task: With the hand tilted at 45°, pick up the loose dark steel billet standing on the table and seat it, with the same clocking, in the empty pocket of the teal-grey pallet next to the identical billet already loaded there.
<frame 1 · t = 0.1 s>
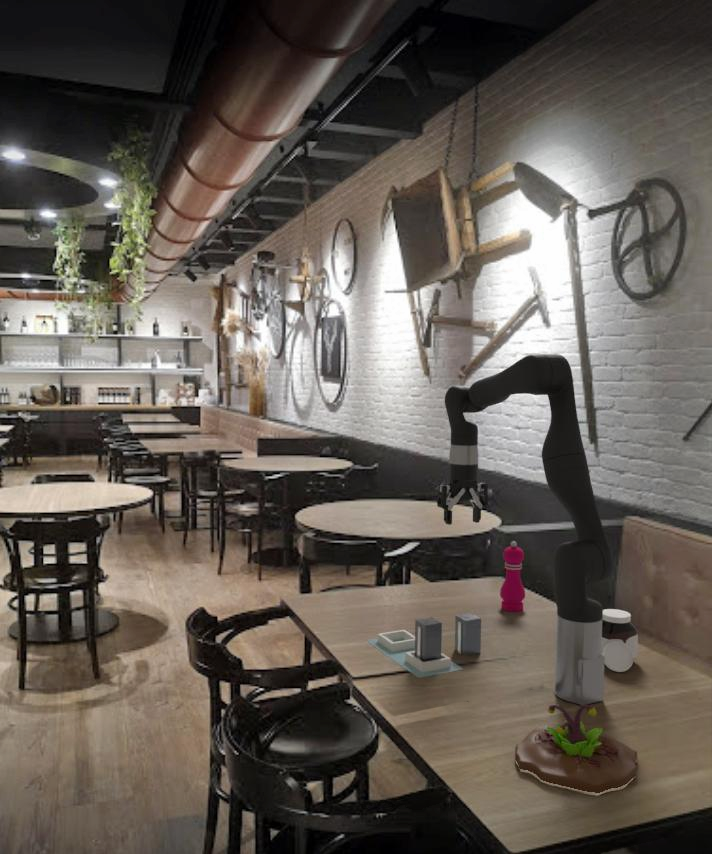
hand: (462, 523, 200), 29 cm above the table, fingers open, 8 cm apart
spread jar: (616, 664, 180), on the table
seated billet: (427, 664, 174), point 1 cm above the table, touching pallet
pepper mill: (512, 609, 222), on the table
loose billet: (467, 657, 183), on the table
plant: (576, 766, 133), on the table
pallet: (412, 660, 181), on the table
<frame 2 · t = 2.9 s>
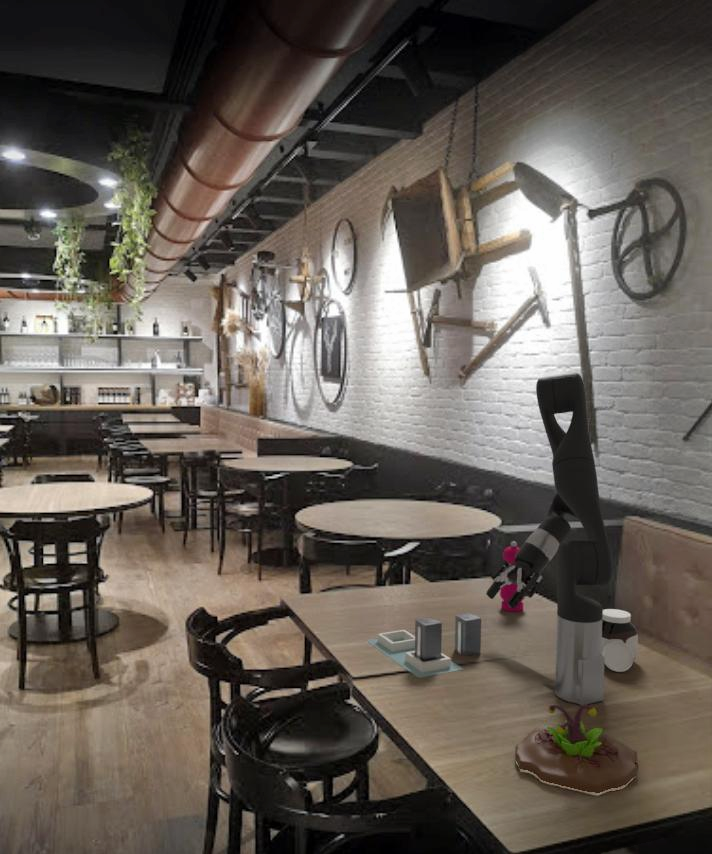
hand: (499, 601, 186), 13 cm above the table, fingers open, 8 cm apart
nothing on the table moved.
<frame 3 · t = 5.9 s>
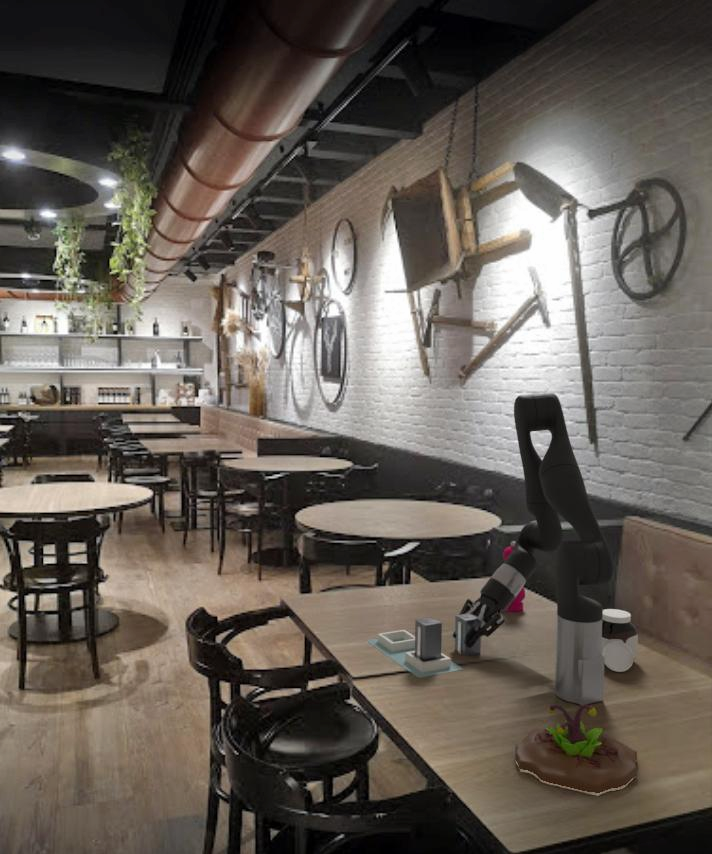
hand: (461, 641, 182), 4 cm above the table, fingers closed on loose billet, 4 cm apart
loose billet: (467, 657, 183), on the table, touching gripper
everything else where it was.
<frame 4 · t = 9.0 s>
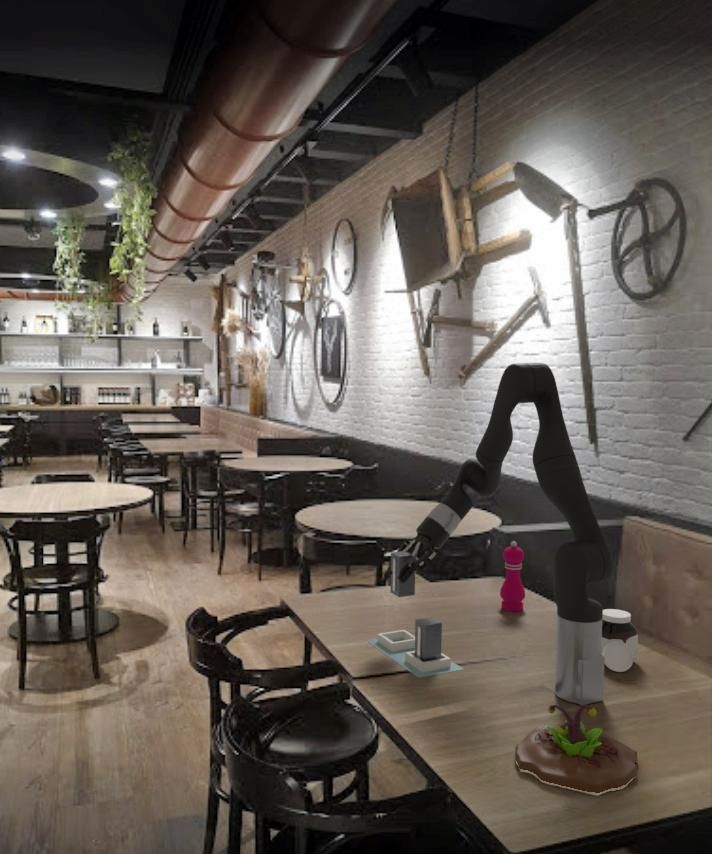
hand: (395, 578, 185), 18 cm above the table, fingers closed on loose billet, 4 cm apart
loose billet: (402, 593, 186), point 14 cm above the table, touching gripper
everything else where it was.
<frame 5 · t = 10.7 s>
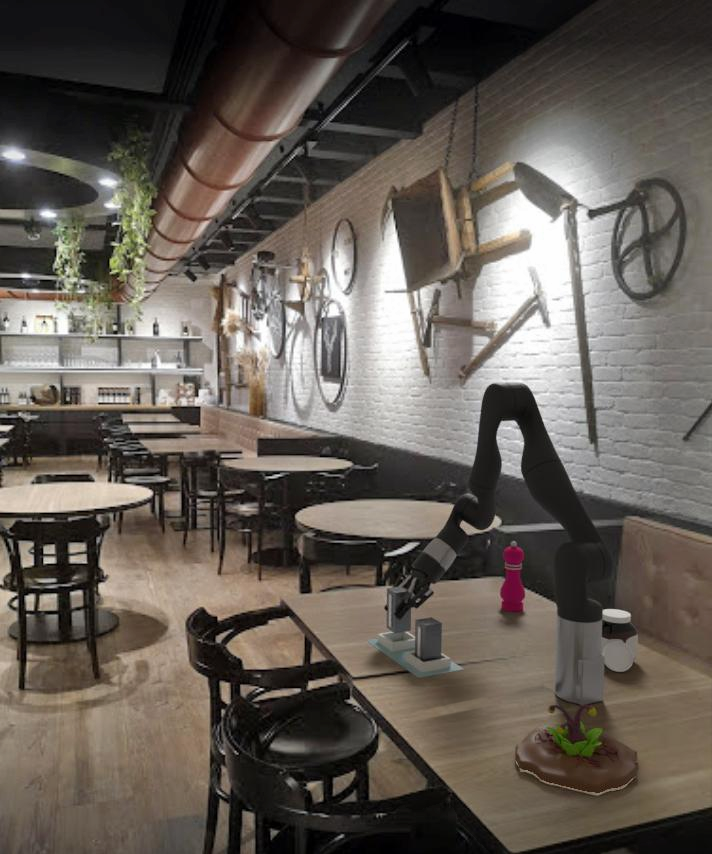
hand: (391, 613, 186), 9 cm above the table, fingers closed on loose billet, 4 cm apart
loose billet: (398, 629, 187), point 5 cm above the table, touching gripper
everything else where it was.
when the fingers open (7 cm above the table, at t = 12.0 s): loose billet drops 1 cm, resting on pallet.
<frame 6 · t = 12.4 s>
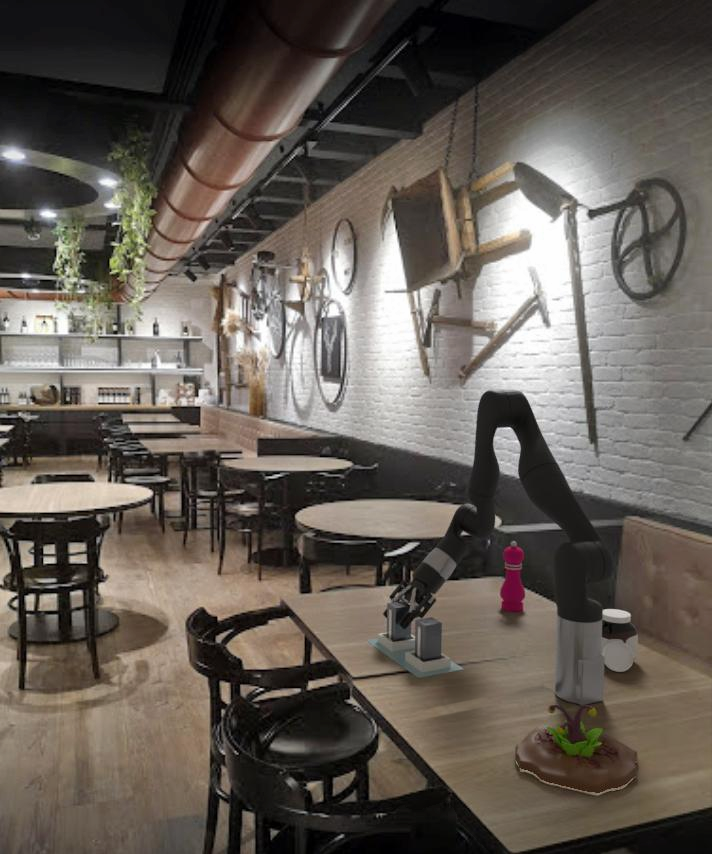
hand: (393, 621, 186), 7 cm above the table, fingers open, 7 cm apart
loose billet: (398, 644, 187), point 2 cm above the table, touching pallet
everything else where it was.
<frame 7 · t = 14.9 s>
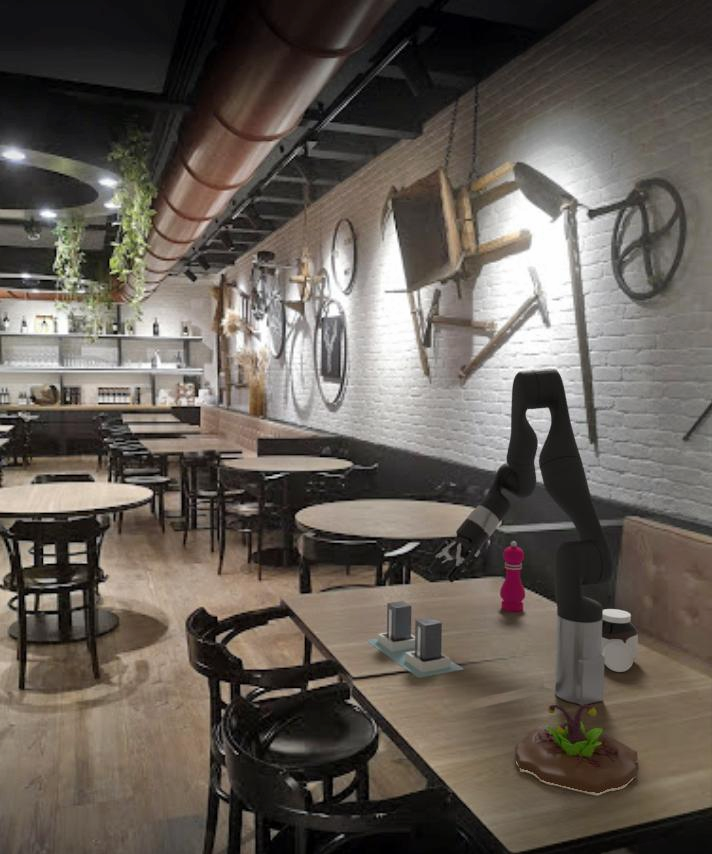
hand: (439, 576, 191), 17 cm above the table, fingers open, 8 cm apart
nothing on the table moved.
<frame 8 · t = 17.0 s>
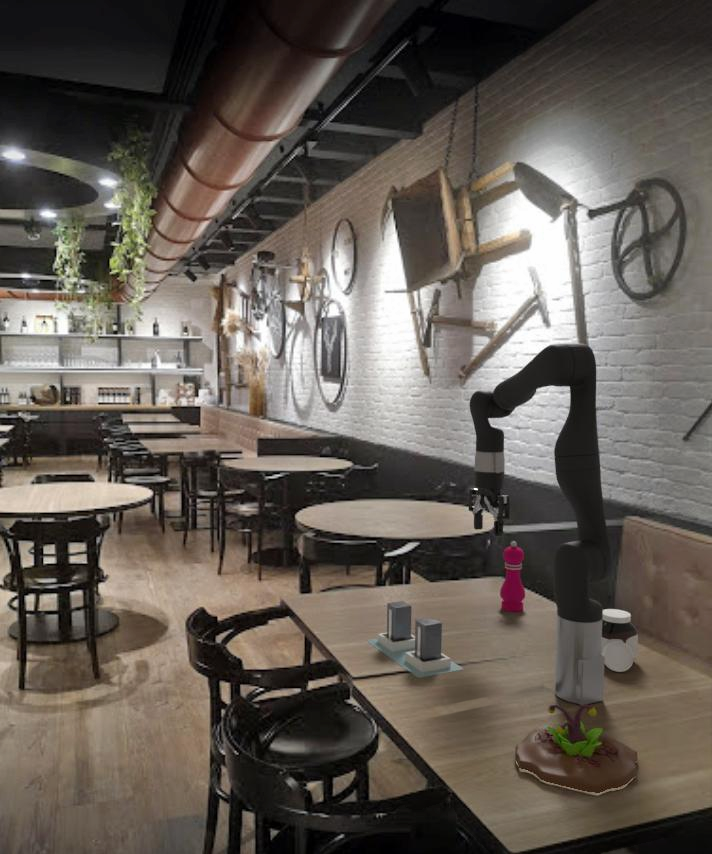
hand: (488, 532, 193), 28 cm above the table, fingers open, 8 cm apart
nothing on the table moved.
at the end: loose billet 0.1 cm from the target spot on the pallet, point 1.5 cm above the pallet's base; loose billet tilted 0°; the gripper is holding nothing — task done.
